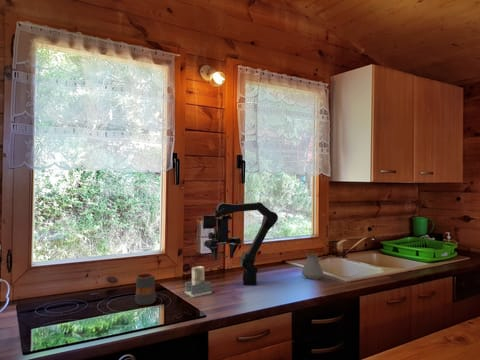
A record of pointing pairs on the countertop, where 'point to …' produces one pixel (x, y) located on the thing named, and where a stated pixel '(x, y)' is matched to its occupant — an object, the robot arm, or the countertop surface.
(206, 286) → the grey channel bracket
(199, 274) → the ash slab
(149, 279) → the mug
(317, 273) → the coffee pot
